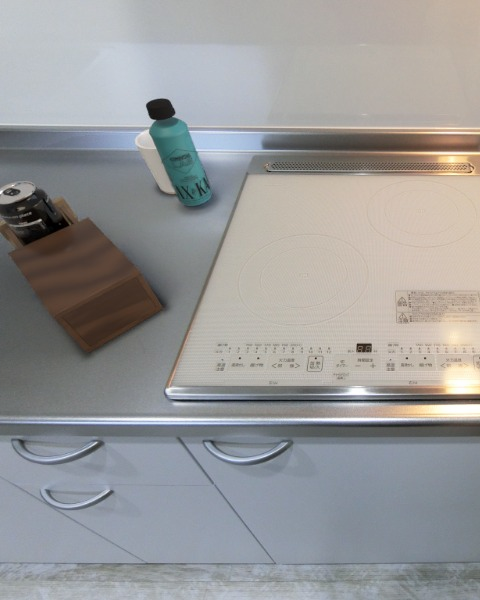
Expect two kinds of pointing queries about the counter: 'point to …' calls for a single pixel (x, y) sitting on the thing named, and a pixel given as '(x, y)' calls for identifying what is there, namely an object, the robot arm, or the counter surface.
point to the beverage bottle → (178, 153)
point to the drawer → (62, 207)
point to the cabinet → (86, 283)
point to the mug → (154, 161)
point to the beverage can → (29, 211)
